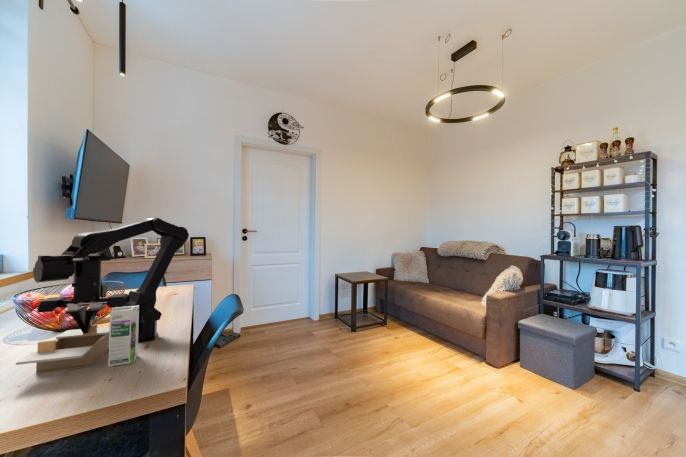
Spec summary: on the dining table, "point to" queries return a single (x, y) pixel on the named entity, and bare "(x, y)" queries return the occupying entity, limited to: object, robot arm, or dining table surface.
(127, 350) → the syrup box
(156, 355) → the dining table surface
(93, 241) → the robot arm
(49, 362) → the carton
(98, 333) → the right cover
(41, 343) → the left cover
